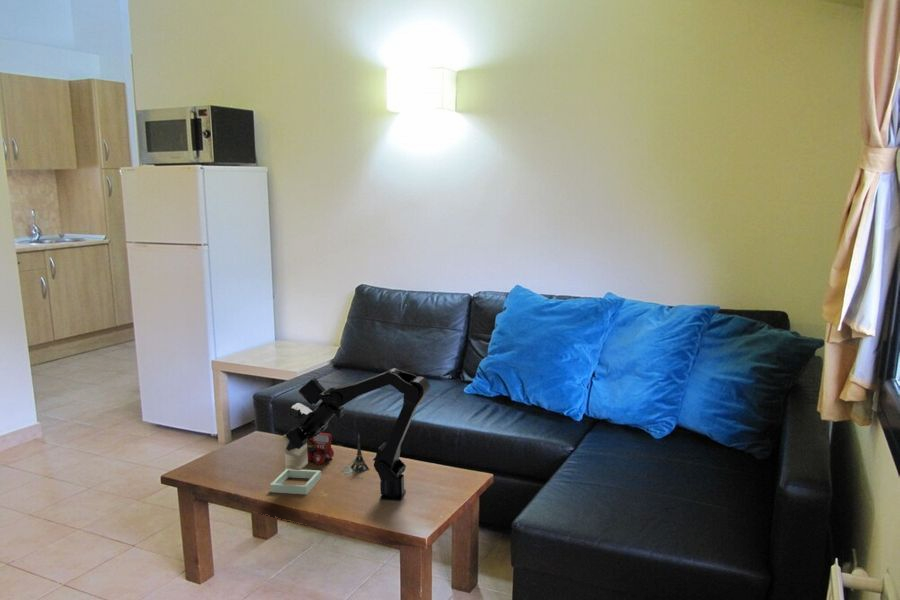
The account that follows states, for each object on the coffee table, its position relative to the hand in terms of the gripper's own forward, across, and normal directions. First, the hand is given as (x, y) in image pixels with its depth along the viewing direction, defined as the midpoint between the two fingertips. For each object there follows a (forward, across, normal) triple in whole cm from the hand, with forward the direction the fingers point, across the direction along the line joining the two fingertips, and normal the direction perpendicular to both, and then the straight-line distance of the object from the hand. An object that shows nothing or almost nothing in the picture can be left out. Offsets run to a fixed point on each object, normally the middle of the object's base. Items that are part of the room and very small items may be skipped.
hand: (291, 446), depth 213 cm
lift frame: (+9, 0, +10) cm, 13 cm away
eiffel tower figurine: (-1, -17, +20) cm, 27 cm away
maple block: (+4, 0, +6) cm, 7 cm away
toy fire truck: (+11, -21, +8) cm, 25 cm away
